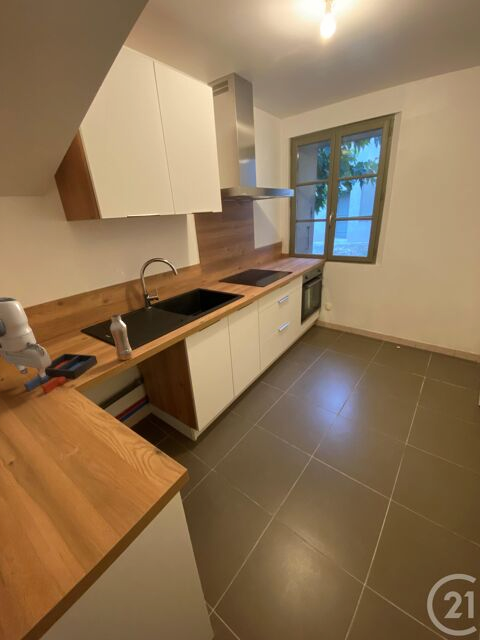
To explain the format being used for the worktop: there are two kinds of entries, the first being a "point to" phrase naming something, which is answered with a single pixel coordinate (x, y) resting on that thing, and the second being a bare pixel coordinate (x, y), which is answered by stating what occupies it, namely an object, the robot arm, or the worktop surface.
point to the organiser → (70, 365)
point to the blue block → (35, 382)
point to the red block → (53, 384)
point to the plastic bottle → (120, 338)
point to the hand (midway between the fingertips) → (33, 374)
